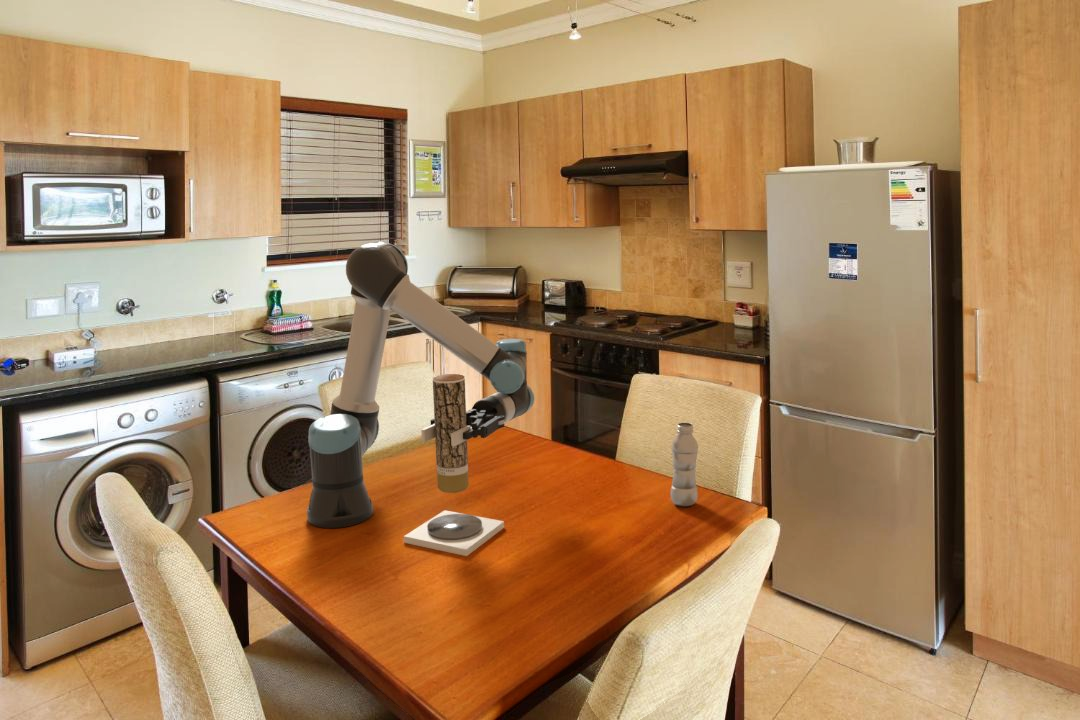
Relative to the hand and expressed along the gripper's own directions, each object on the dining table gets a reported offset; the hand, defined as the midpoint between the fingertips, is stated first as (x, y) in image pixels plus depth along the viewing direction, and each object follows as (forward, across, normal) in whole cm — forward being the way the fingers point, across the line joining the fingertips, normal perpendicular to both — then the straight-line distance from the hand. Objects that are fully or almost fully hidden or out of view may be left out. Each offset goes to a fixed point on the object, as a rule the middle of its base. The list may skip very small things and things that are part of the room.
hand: (437, 437), depth 161 cm
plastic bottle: (-43, -41, -24) cm, 64 cm away
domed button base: (-5, 0, -24) cm, 24 cm away
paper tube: (-5, 0, -13) cm, 14 cm away
